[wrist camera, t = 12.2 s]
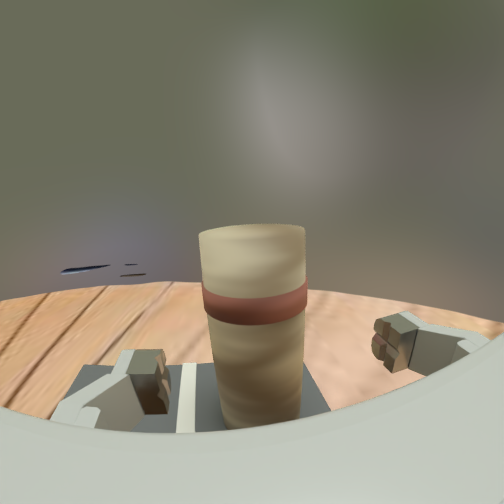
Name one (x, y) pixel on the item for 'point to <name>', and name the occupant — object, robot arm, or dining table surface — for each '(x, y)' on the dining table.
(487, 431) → the robot arm
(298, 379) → the skittle
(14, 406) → the dining table surface
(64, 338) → the dining table surface
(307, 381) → the lane mat
